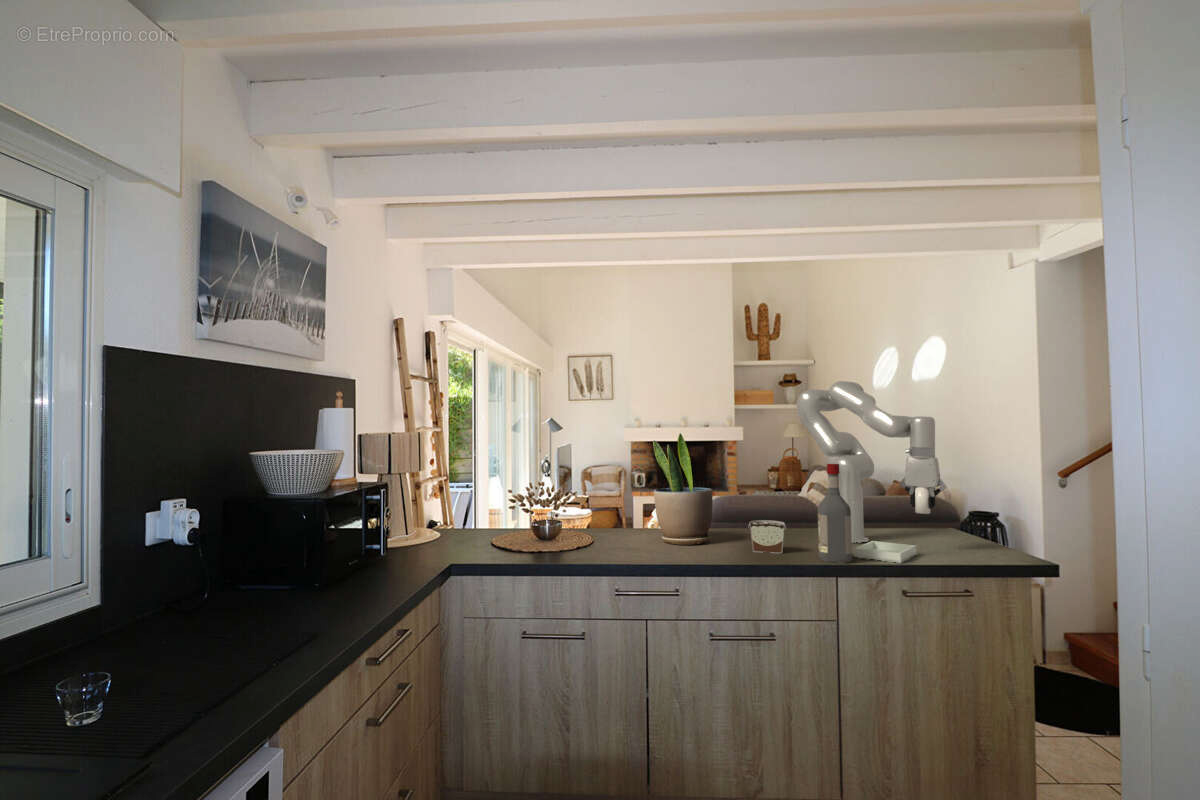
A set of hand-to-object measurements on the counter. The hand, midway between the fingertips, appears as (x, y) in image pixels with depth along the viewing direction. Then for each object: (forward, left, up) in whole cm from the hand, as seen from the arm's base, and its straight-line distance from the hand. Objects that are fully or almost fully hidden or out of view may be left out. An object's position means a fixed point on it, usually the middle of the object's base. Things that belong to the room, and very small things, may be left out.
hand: (922, 507), depth 210 cm
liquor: (-17, -33, -15) cm, 40 cm away
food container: (-40, -32, -15) cm, 54 cm away
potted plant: (-72, -35, -15) cm, 82 cm away
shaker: (0, 0, -2) cm, 2 cm away
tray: (-7, -16, -15) cm, 23 cm away
